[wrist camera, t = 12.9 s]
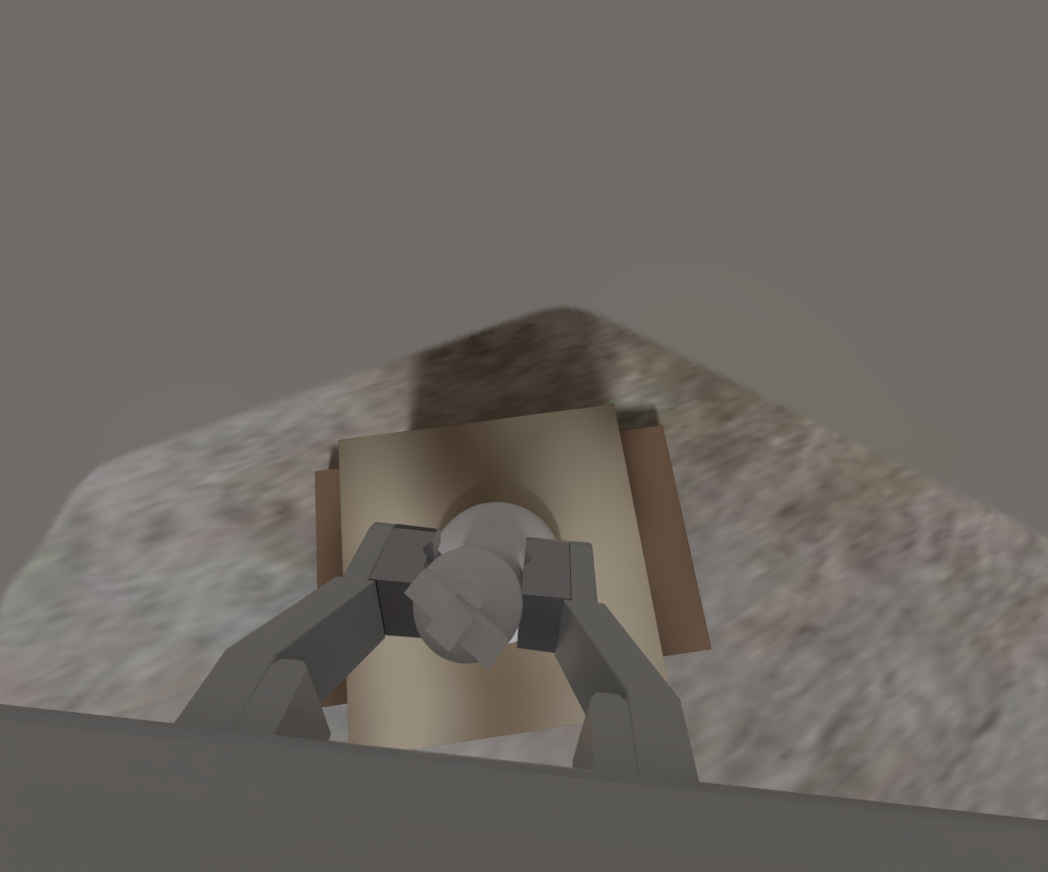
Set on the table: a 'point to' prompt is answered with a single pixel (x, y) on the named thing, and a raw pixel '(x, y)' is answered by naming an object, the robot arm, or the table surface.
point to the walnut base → (571, 514)
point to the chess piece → (476, 583)
